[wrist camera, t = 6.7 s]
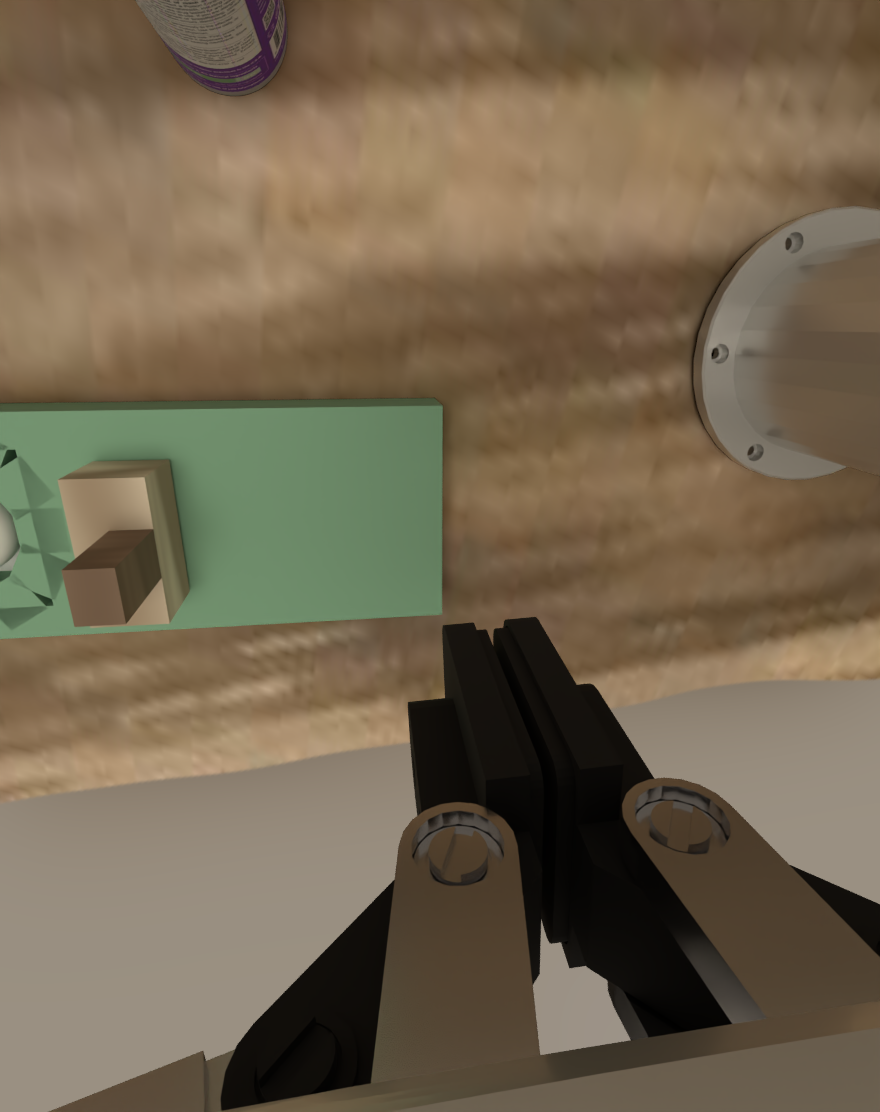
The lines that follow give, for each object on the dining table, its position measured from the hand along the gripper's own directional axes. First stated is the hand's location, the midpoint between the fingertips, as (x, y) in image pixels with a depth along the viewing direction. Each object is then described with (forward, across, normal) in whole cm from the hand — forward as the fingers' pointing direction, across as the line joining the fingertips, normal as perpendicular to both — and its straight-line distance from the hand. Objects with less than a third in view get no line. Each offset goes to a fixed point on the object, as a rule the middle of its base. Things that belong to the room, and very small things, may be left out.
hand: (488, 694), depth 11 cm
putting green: (+20, +13, +2) cm, 24 cm away
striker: (+17, +12, +2) cm, 21 cm away
